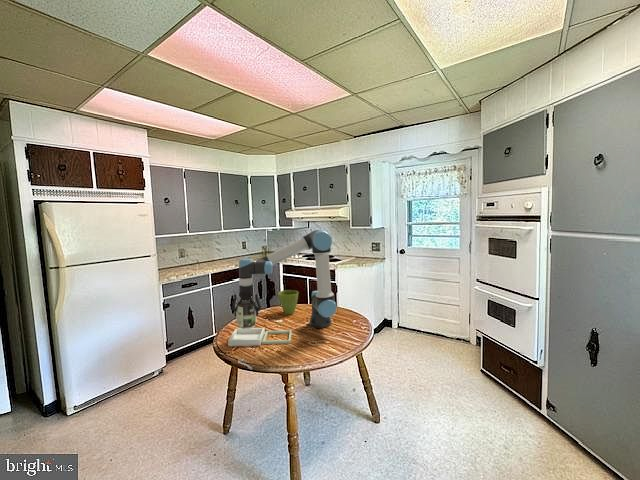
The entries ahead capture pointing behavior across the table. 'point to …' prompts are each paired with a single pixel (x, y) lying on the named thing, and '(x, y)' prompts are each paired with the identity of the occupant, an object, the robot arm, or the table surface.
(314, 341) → the table surface
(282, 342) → the frame
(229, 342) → the bin
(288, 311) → the flower pot
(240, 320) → the coffee can
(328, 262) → the robot arm
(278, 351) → the table surface
